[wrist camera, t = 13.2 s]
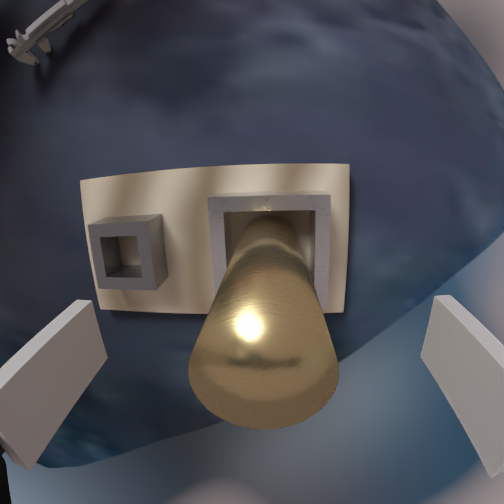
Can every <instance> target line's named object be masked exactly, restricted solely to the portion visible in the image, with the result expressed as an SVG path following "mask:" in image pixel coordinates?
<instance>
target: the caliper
mask: <svg viewBox="0 0 504 504" xmlns="http://www.w3.org/2000/svg"><path fill="white" fill-rule="evenodd" d="M87 1H88V0H60V1H59V2H58V3H57V4H55V5H54V6H53V7H51V8H50V9H49V10H48V11H47V12H45V13H44V14H43V15H42V16H41V17H39V18H38V19H37V20H36V21H35V22H34V23H32V24H31V25H30V26H29V27H28V28H27V29H26V30H25V31H26V34H25V35H24V34H23V35H21V33H20V32H19V31H18V30H16V31H15V33H16V38H17V40H18V41H17V40H16V39H12V38H9V39H6V41H7V43H8V45H9V47H8V50H9V53H10V54H11V55H12V56H13V57H14V58H15V59H17V60H18V61H20V62H23V63H27V64H30V65H34V66H36V65H38V64H39V63H40V62H39V60H38V58H37V57H35V56H34V55H33V54H32V53H31V52H30V51H29V49H30V48H31V47H32V46H33V45H34V44H35V43H36V44H37V45H38V46H39V47H40V48H41V49H42V50H43V51H44V52H46V53H47V54H48V53H49V52H50V51H51V48H50V45H49V41H48V38H47V35H49V34H50V33H51V32H52V31H55V30H57V29H58V28H60V27H62V26H63V25H64V24H65V23H66V22H67V21H68V20H70V19H72V18H73V17H74V16H75V15H74V13H73V12H74V11H75V10H76V9H77V8H79V7H80V6H82V5H83V4H84V3H86V2H87Z"/></svg>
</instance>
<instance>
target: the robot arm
mask: <svg viewBox="0 0 504 504" xmlns="http://www.w3.org/2000/svg"><path fill="white" fill-rule="evenodd" d="M420 357H421V358H422V360H423V361H424V363H425V364H426V366H427V368H428V369H429V371H430V372H431V374H432V375H433V377H434V379H435V380H436V382H437V383H438V385H439V387H440V388H441V390H442V391H443V393H444V395H445V397H446V398H447V400H448V401H449V403H450V405H451V407H452V408H453V410H454V411H455V413H456V415H457V417H458V419H459V420H460V422H461V424H462V425H463V427H464V429H465V431H466V433H467V435H468V436H469V438H470V440H471V442H472V444H473V445H474V447H475V449H476V451H477V453H478V455H479V457H480V459H481V461H482V463H483V464H484V466H485V468H486V471H487V472H488V475H489V476H490V478H492V477H494V476H497V475H499V474H501V473H503V472H504V345H503V344H502V343H501V342H500V341H499V340H498V339H497V338H495V336H494V335H493V334H491V332H489V330H487V329H486V328H485V327H484V326H483V325H482V324H481V323H480V322H479V321H478V320H477V319H476V318H475V317H474V316H473V315H472V314H471V313H470V312H468V311H467V310H466V309H465V308H464V307H463V306H462V305H461V304H460V303H458V301H456V300H455V299H454V298H453V297H452V296H451V295H442V296H434V300H433V305H432V310H431V315H430V319H429V324H428V328H427V332H426V336H425V340H424V344H423V348H422V352H421V355H420ZM107 358H108V357H107V354H106V351H105V347H104V344H103V341H102V337H101V334H100V330H99V326H98V323H97V319H96V315H95V311H94V307H93V303H92V300H76V301H75V302H74V303H72V304H71V305H70V306H69V307H68V308H66V309H65V310H64V311H63V312H62V313H61V314H59V315H58V316H57V317H56V318H55V319H54V320H53V321H51V322H50V323H49V324H48V325H47V326H46V327H45V328H43V329H42V330H41V331H40V332H39V333H38V334H37V335H36V336H34V337H33V338H32V339H31V340H30V341H29V342H28V343H27V344H26V345H24V346H23V347H22V348H21V349H20V350H19V351H18V352H17V353H16V354H15V355H14V356H13V357H12V358H11V359H9V360H8V361H6V362H5V363H4V364H3V365H2V366H1V367H0V504H11V498H10V492H9V485H8V477H7V469H6V463H5V460H4V459H3V457H2V454H3V453H4V452H6V453H7V454H8V456H9V457H10V458H11V459H12V461H13V462H14V463H15V464H17V465H19V466H21V467H23V468H25V469H27V470H29V471H31V469H32V468H33V466H34V465H35V463H36V461H37V460H38V458H39V457H40V455H41V454H42V452H43V451H44V449H45V448H46V446H47V444H48V443H49V441H50V440H51V438H52V437H53V435H54V434H55V432H56V431H57V429H58V428H59V426H60V425H61V423H62V422H63V421H64V419H65V418H66V416H67V415H68V413H69V412H70V410H71V409H72V407H73V406H74V405H75V403H76V402H77V400H78V399H79V397H80V396H81V395H82V393H83V392H84V390H85V389H86V387H87V386H88V385H89V383H90V382H91V380H92V379H93V378H94V376H95V375H96V373H97V372H98V371H99V369H100V368H101V367H102V365H103V364H104V362H105V361H106V360H107Z"/></svg>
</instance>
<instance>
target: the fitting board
mask: <svg viewBox="0 0 504 504" xmlns="http://www.w3.org/2000/svg"><path fill="white" fill-rule="evenodd" d="M80 186H81V197H82V207H83V215H84V223H85V230H86V237H87V244H88V250H89V256H90V262H91V267H92V272H93V278H94V283H95V287H96V292H97V297H98V301H99V306H100V309H106V310H122V311H139V312H160V313H188V314H208V313H209V310H210V308H211V305H212V303H213V301H214V298H215V296H216V294H217V291H218V289H219V286H220V284H221V282H222V279H223V277H224V275H225V272H226V270H227V268H228V265H229V263H230V261H231V258H232V256H233V254H234V251H235V249H236V247H237V244H238V242H239V240H240V237H241V235H242V233H243V230H244V229H245V227H246V226H247V225H248V224H249V223H250V222H251V221H252V220H254V219H256V218H257V217H260V216H264V215H274V216H278V217H281V218H283V219H285V220H286V221H288V222H289V223H290V224H291V225H292V226H293V228H294V229H295V231H296V234H297V237H298V239H299V242H300V245H301V248H302V251H303V254H304V257H305V260H306V263H307V266H308V269H309V272H310V275H311V278H312V281H313V284H314V287H315V290H316V293H317V296H318V299H319V302H320V305H321V308H322V312H323V313H338V312H343V310H344V299H345V286H346V272H347V255H348V232H349V164H251V165H228V166H210V167H195V168H182V169H171V170H160V171H150V172H140V173H132V174H123V175H115V176H108V177H100V178H93V179H87V180H81V181H80Z"/></svg>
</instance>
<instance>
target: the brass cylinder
mask: <svg viewBox="0 0 504 504" xmlns="http://www.w3.org/2000/svg"><path fill="white" fill-rule="evenodd" d="M188 374H189V380H190V384H191V387H192V389H193V391H194V393H195V395H196V396H197V398H198V399H199V400H200V402H201V403H202V404H203V405H204V406H205V407H206V408H207V409H208V410H209V411H211V412H212V413H213V414H215V415H216V416H218V417H220V418H221V419H223V420H225V421H228V422H230V423H233V424H235V425H239V426H243V427H247V428H253V429H275V428H283V427H287V426H291V425H294V424H297V423H299V422H302V421H304V420H306V419H308V418H309V417H311V416H313V415H314V414H315V413H317V412H318V411H319V410H321V409H322V408H323V407H324V405H326V403H327V402H328V401H329V400H330V398H331V396H332V395H333V393H334V391H335V389H336V386H337V383H338V379H339V366H338V361H337V357H336V354H335V350H334V347H333V344H332V341H331V337H330V334H329V331H328V328H327V324H326V321H325V318H324V315H323V312H322V308H321V305H320V302H319V299H318V296H317V293H316V290H315V287H314V284H313V281H312V278H311V275H310V272H309V269H308V266H307V263H306V260H305V257H304V254H303V251H302V248H301V245H300V242H299V239H298V237H297V234H296V231H295V229H294V228H293V226H292V225H291V224H290V223H289V222H288V221H286V220H285V219H283V218H281V217H278V216H274V215H264V216H260V217H257V218H256V219H254V220H252V221H251V222H250V223H249V224H248V225H247V226H246V227H245V229H244V230H243V233H242V235H241V237H240V240H239V242H238V244H237V247H236V249H235V251H234V254H233V256H232V258H231V261H230V263H229V265H228V268H227V270H226V272H225V275H224V277H223V279H222V282H221V284H220V286H219V289H218V291H217V294H216V296H215V298H214V301H213V303H212V305H211V308H210V310H209V313H208V315H207V317H206V320H205V322H204V325H203V327H202V329H201V332H200V334H199V337H198V339H197V341H196V344H195V346H194V349H193V351H192V353H191V356H190V360H189V366H188Z"/></svg>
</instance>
